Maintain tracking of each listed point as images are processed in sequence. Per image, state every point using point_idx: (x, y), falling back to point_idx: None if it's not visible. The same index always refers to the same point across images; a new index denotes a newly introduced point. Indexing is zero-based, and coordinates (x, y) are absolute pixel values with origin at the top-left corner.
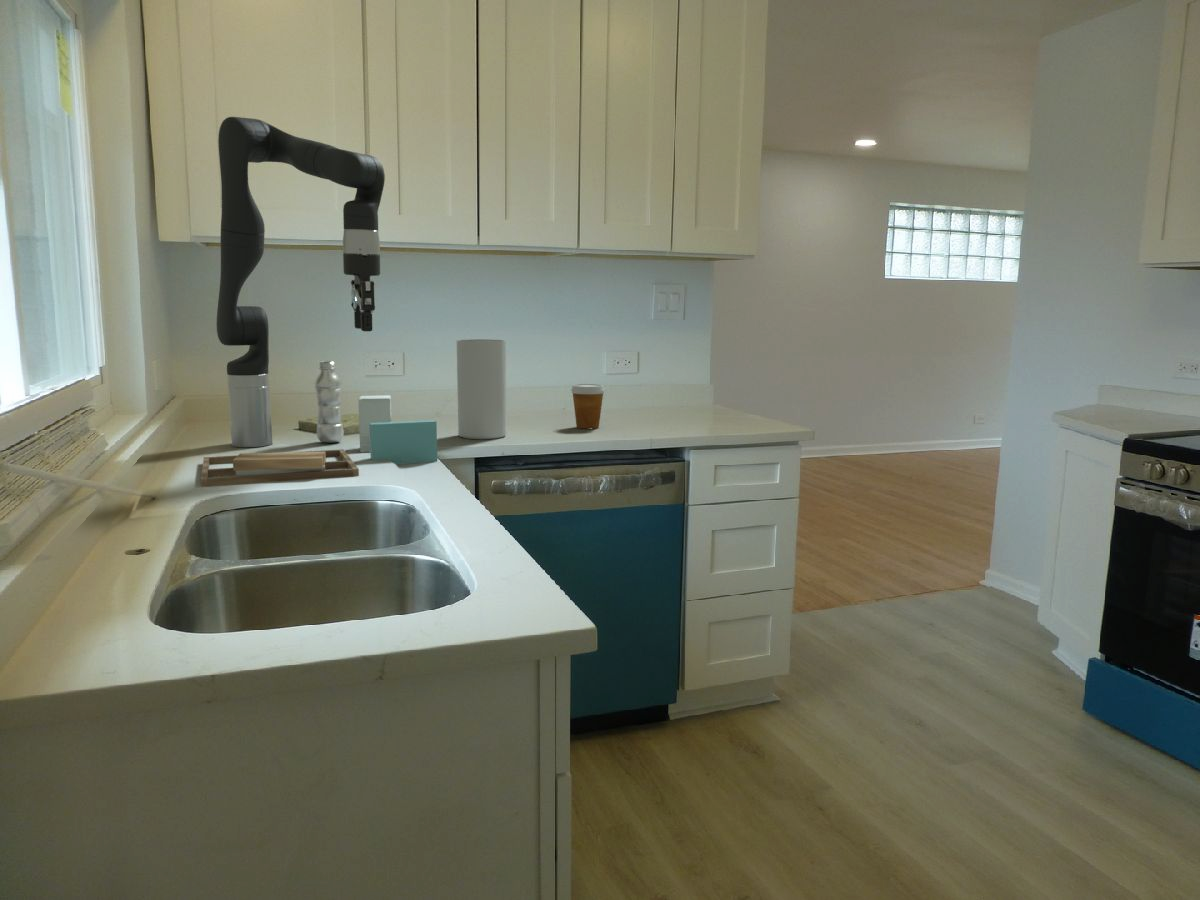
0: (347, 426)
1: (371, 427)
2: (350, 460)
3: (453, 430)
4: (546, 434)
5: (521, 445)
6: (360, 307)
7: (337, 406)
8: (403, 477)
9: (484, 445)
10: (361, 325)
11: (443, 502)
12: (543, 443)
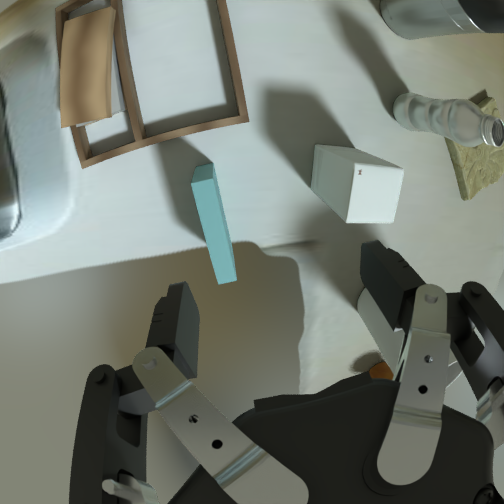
0: (454, 144)
1: (191, 182)
2: (141, 145)
3: (427, 264)
4: (361, 346)
5: (307, 331)
6: (156, 372)
7: (431, 128)
8: (112, 215)
9: (321, 299)
10: (169, 297)
11: (23, 258)
12: (311, 347)
